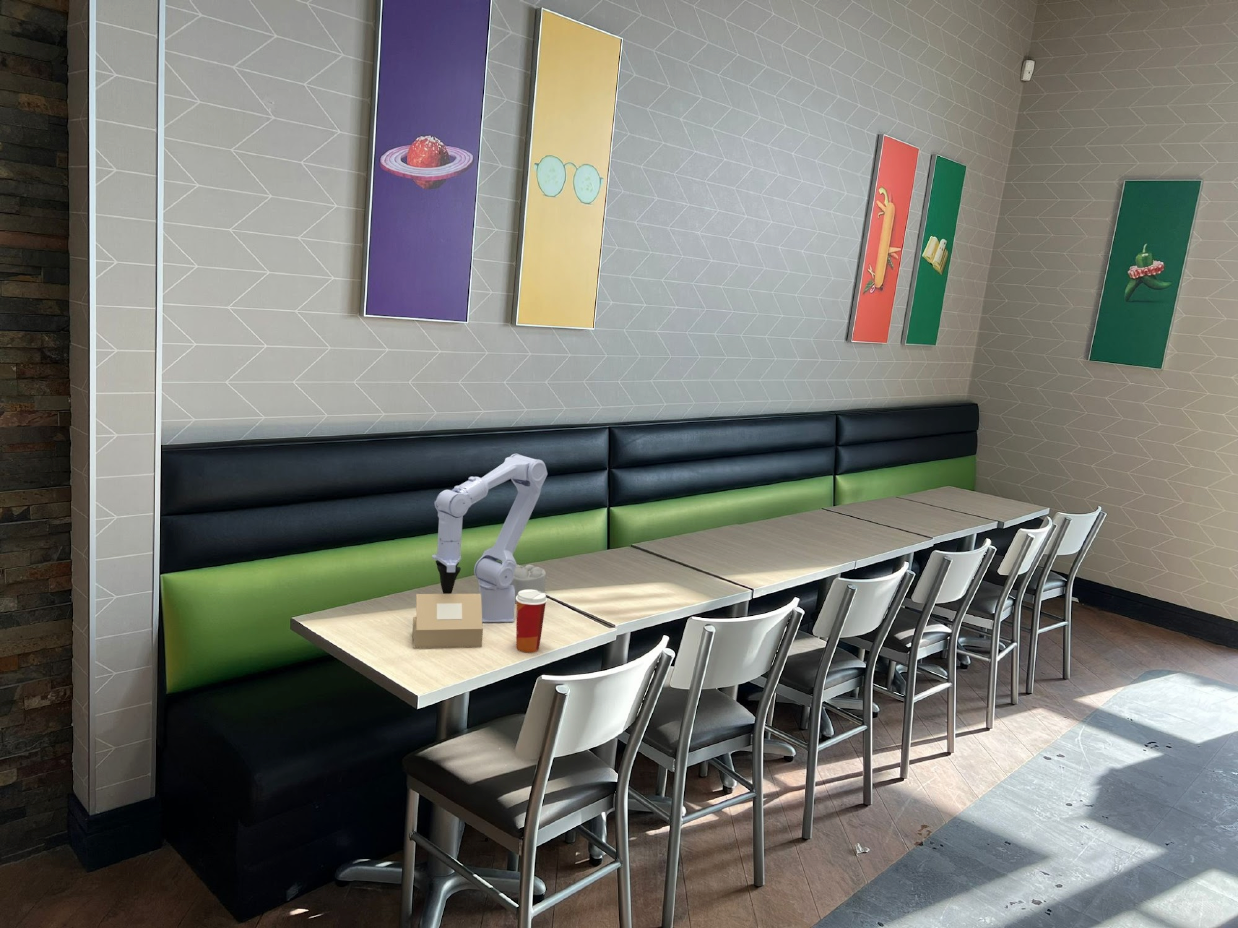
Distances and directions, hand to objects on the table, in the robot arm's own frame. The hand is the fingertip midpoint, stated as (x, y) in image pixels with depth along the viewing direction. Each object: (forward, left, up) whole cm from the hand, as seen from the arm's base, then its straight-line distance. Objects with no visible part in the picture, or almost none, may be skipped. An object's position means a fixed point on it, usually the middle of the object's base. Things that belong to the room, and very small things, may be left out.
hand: (446, 591), depth 228 cm
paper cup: (-19, +12, -11) cm, 25 cm away
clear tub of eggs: (-25, -25, -11) cm, 37 cm away
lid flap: (0, +8, -2) cm, 8 cm away
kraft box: (0, +6, -10) cm, 12 cm away
